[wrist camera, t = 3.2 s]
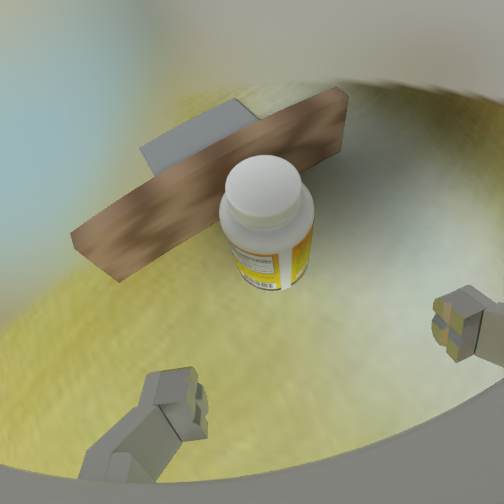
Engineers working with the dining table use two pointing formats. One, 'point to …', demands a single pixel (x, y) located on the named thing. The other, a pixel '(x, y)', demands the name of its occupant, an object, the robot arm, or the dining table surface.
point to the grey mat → (196, 135)
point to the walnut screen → (205, 185)
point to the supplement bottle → (268, 221)
